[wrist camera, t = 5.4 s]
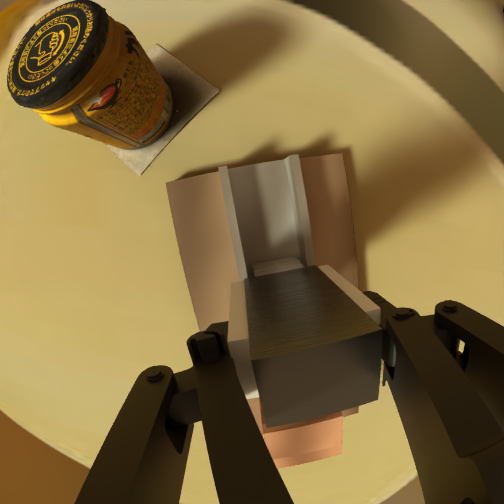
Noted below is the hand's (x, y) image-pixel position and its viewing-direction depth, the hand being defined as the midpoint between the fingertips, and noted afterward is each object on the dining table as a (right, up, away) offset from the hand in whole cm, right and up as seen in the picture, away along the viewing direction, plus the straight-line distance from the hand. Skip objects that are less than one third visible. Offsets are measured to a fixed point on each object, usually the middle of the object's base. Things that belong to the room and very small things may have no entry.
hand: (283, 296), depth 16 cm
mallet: (+1, -5, +4) cm, 6 cm away
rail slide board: (0, -3, +6) cm, 6 cm away
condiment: (-10, +14, +2) cm, 17 cm away
